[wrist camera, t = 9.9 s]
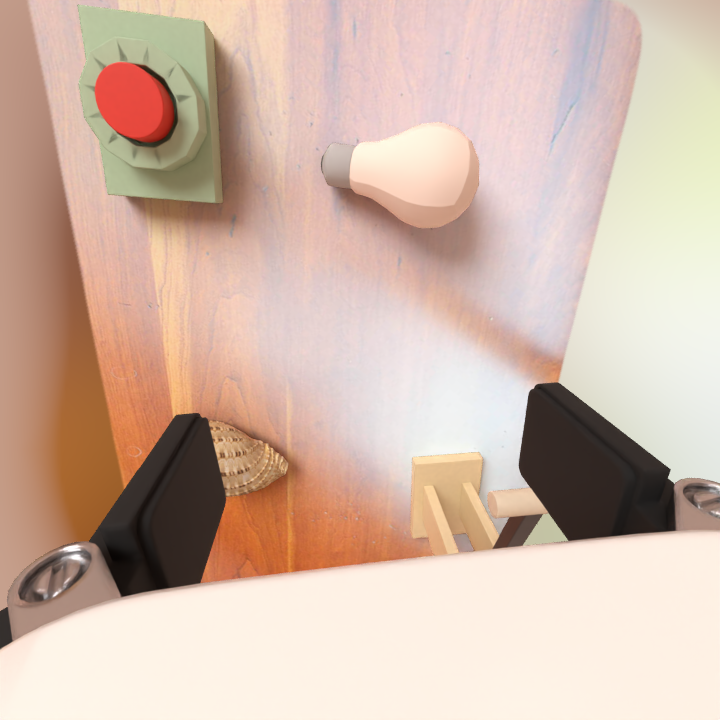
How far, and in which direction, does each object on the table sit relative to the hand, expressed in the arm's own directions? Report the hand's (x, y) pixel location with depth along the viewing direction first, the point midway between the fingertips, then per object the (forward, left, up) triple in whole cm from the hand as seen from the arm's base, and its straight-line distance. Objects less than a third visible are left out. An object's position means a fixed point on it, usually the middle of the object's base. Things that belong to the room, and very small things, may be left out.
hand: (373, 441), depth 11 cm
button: (-2, -16, -19) cm, 25 cm away
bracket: (+12, +22, -22) cm, 33 cm away
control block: (-2, -16, -22) cm, 28 cm away
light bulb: (-9, -2, -22) cm, 24 cm away
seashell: (+19, +1, -22) cm, 29 cm away
